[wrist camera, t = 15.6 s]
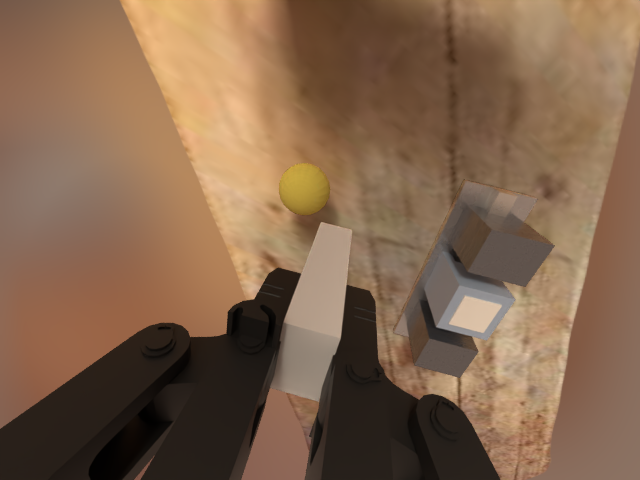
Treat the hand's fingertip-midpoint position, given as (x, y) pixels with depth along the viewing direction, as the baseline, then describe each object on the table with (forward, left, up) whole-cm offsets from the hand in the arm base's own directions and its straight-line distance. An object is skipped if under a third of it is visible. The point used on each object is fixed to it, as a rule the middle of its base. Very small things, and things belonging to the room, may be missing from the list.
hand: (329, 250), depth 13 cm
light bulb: (+5, -5, -30) cm, 30 cm away
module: (+15, +21, -28) cm, 38 cm away
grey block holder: (+15, +21, -29) cm, 39 cm away
